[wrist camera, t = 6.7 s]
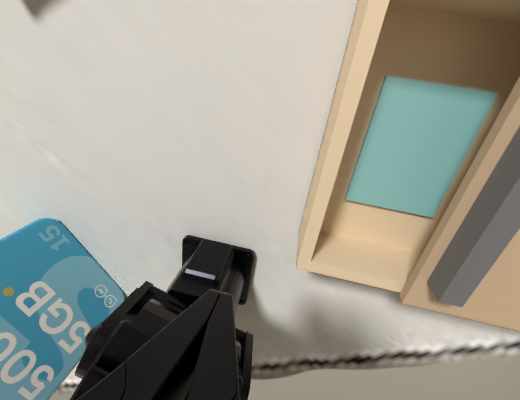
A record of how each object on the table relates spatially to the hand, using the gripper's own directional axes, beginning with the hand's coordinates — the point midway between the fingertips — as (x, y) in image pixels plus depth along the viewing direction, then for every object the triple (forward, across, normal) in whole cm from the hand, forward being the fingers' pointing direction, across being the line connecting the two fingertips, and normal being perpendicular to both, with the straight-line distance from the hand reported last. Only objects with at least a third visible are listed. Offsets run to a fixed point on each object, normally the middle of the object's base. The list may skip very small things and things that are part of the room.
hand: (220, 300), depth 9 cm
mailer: (+12, -10, -4) cm, 16 cm away
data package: (+12, +18, +14) cm, 26 cm away
